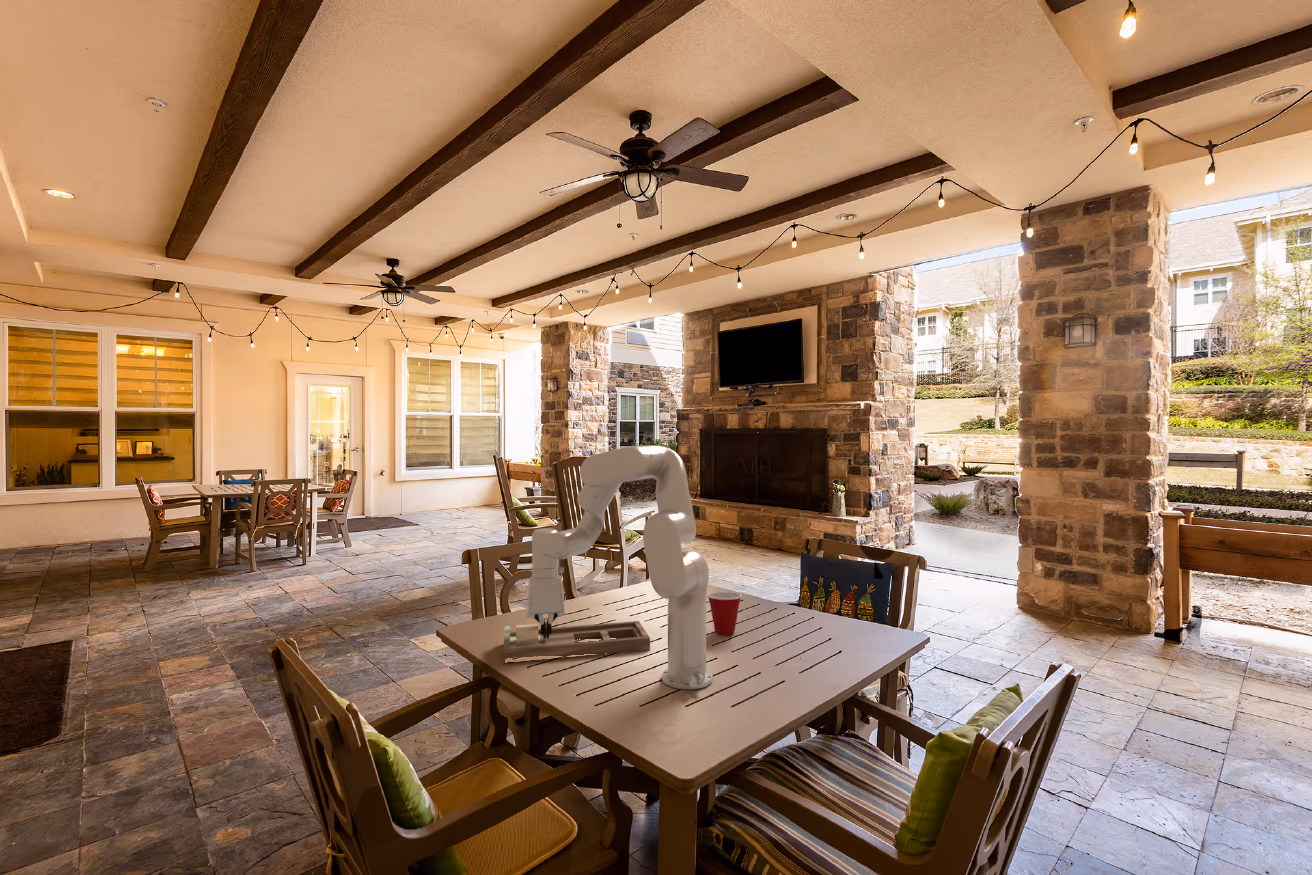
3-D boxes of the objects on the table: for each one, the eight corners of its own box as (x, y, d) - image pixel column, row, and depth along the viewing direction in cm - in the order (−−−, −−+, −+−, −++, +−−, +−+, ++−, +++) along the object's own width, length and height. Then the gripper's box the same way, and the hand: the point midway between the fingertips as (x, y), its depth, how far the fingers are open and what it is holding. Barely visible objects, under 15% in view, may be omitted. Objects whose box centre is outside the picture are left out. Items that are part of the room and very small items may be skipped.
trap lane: (650, 650, 167) (649, 628, 167) (503, 663, 158) (503, 641, 158) (638, 632, 183) (638, 612, 183) (505, 643, 173) (504, 623, 173)
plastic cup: (741, 627, 186) (741, 589, 186) (743, 639, 176) (743, 598, 176) (707, 626, 188) (706, 588, 188) (706, 638, 177) (706, 597, 177)
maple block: (538, 644, 165) (538, 630, 165) (516, 646, 164) (516, 632, 164) (537, 637, 171) (537, 623, 171) (516, 639, 169) (516, 625, 169)
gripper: (571, 568, 174) (571, 630, 174) (518, 571, 170) (519, 634, 170) (573, 574, 166) (573, 639, 166) (518, 577, 163) (519, 643, 163)
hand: (546, 636), depth 168 cm, fingers closed
